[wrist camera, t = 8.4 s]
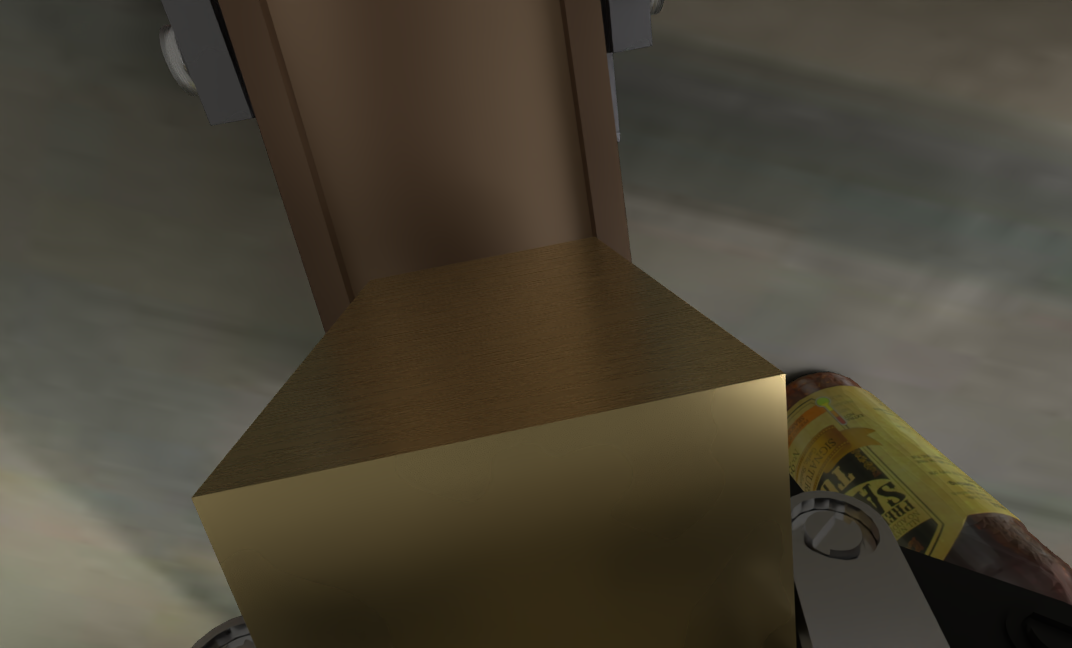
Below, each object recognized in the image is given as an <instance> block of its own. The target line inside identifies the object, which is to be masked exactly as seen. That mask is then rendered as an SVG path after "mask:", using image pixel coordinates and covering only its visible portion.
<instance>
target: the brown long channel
mask: <svg viewBox="0 0 1072 648" xmlns="http://www.w3.org/2000/svg"><path fill="white" fill-rule="evenodd" d="M218 2H219V5H220V8H221V11H222V14H223V17H224V20H225V23H226V26H227V30H228V33H229V36H230V39H231V42H232V45H233V48H234V51H235V54H236V57H237V61H238V64H239V67H240V70H241V73H242V76H243V79H244V82H245V85H246V88H247V92H248V95H249V98H250V101H251V104H252V107H253V110H254V113H255V116H256V119H257V123H258V126H259V129H260V132H261V135H262V138H263V141H264V144H265V147H266V150H267V153H268V157H269V160H270V163H271V166H272V169H273V172H274V175H275V178H276V181H277V184H278V188H279V191H280V194H281V197H282V200H283V203H284V206H285V209H286V212H287V215H288V219H289V222H290V225H291V228H292V231H293V234H294V237H295V240H296V243H297V246H298V249H299V253H300V256H301V259H302V262H303V265H304V268H305V271H306V274H307V277H308V280H309V284H310V287H311V290H312V293H313V296H314V299H315V302H316V305H317V308H318V311H319V315H320V318H321V321H322V324H323V327H324V330H325V333H327V332H328V330H329V329H330V328H331V327H332V326H333V324H334V323H335V322H336V321H337V319H338V318H339V317H340V316H341V315H342V313H343V312H344V311H345V310H346V308H347V307H348V306H349V305H350V304H351V302H352V301H353V300H354V299H355V297H356V296H357V295H358V294H359V293H360V291H361V290H362V289H363V288H364V286H365V285H366V284H367V283H368V282H369V280H374V279H379V278H384V277H389V276H395V275H400V274H405V273H410V272H415V271H420V270H425V269H431V268H436V267H441V266H446V265H451V264H456V263H461V262H467V261H472V260H477V259H482V258H487V257H492V256H497V255H503V254H508V253H513V252H518V251H523V250H528V249H533V248H539V247H544V246H549V245H554V244H559V243H564V242H569V241H575V240H580V239H585V238H590V237H596V238H598V239H599V240H600V241H602V242H603V243H605V244H606V245H607V246H609V247H610V248H612V249H613V250H614V251H616V252H617V253H618V254H620V255H621V256H623V257H624V258H625V259H627V260H628V261H630V262H631V263H632V261H631V253H630V244H629V236H628V227H627V219H626V211H625V202H624V194H623V186H622V177H621V169H620V161H619V152H618V144H617V136H616V127H615V119H614V111H613V102H612V94H611V86H610V77H609V69H608V61H607V52H606V44H605V36H604V27H603V19H602V10H601V2H600V0H218Z"/></svg>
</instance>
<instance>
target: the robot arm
mask: <svg viewBox="0 0 1072 648" xmlns="http://www.w3.org/2000/svg"><path fill="white" fill-rule="evenodd" d="M789 477H790V502H791V526H792V551H793V575H794V599H795V624H796V648H1072V605H1070V604H1068V603H1066V602H1063V601H1060V600H1057V599H1054V598H1052V597H1049V596H1046V595H1043V594H1040V593H1037V592H1034V591H1031V590H1028V589H1025V588H1022V587H1019V586H1016V585H1013V584H1011V583H1008V582H1005V581H1002V580H999V579H996V578H993V577H990V576H987V575H984V574H981V573H978V572H975V571H972V570H969V569H967V568H964V567H961V566H958V565H955V564H952V563H949V562H946V561H943V560H940V559H937V558H934V557H931V556H928V555H926V554H923V553H920V552H917V551H914V550H911V549H908V548H905V547H902V546H899V545H898V543H897V541H896V539H895V537H894V535H893V533H892V531H891V529H890V527H889V526H888V524H887V523H886V521H885V520H884V519H883V517H882V516H881V515H880V514H879V513H878V512H876V511H875V510H874V509H873V508H871V507H870V506H869V505H868V504H866V503H864V502H862V501H860V500H858V499H856V498H854V497H852V496H848V495H845V494H841V493H838V492H832V491H822V490H816V491H808V492H804V491H803V490H802V489H801V487H800V486H799V485H798V484H797V482H796V481H795V480H794V479H793V477H792V476H791V475H790V474H789ZM192 648H256V647H255V644H254V642H253V640H252V637H251V635H250V633H249V630H248V628H247V626H246V623H245V621H244V619H243V616H239V617H236V618H233V619H230V620H228V621H226V622H224V623H222V624H221V625H219V626H217V627H215V628H213V629H212V630H211V631H210V632H208V633H207V634H206V635H205V636H203V637H202V638H201V639H199V640H198V641H197V642H196V643H195V644H194V645H193V647H192Z"/></svg>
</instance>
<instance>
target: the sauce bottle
mask: <svg viewBox="0 0 1072 648" xmlns="http://www.w3.org/2000/svg"><path fill="white" fill-rule="evenodd" d="M786 404H787V428H788V453H789V474H790V475H791V476H792V477H793V479H794V480H795V481H796V482H797V484H798V485H799V486H800V487H801V489H802V490H803V491H804V492H808V491H816V490H822V491H832V492H838V493H841V494H845V495H848V496H852V497H854V498H856V499H858V500H860V501H862V502H864V503H866V504H868V505H869V506H870V507H871V508H873V509H874V510H875V511H876V512H878V513H879V514H880V515H881V516H882V517H883V519H884V520H885V521H886V523H887V524H888V526H889V527H890V529H891V531H892V533H893V535H894V537H895V539H896V541H897V543H898V545H899V546H902V547H905V548H908V549H911V550H914V551H917V552H920V553H923V554H926V555H928V556H931V557H934V558H937V559H940V560H943V561H946V562H949V563H952V564H955V565H958V566H961V567H964V568H967V569H969V570H972V571H975V572H978V573H981V574H984V575H987V576H990V577H993V578H996V579H999V580H1002V581H1005V582H1008V583H1011V584H1013V585H1016V586H1019V587H1022V588H1025V589H1028V590H1031V591H1034V592H1037V593H1040V594H1043V595H1046V596H1049V597H1052V598H1054V599H1057V600H1060V601H1063V602H1066V603H1068V604H1070V605H1072V569H1071V568H1070V566H1069V565H1068V564H1067V563H1065V562H1064V561H1063V560H1062V559H1060V558H1059V557H1058V556H1056V555H1055V554H1054V553H1053V552H1052V551H1050V550H1049V549H1048V548H1047V547H1046V546H1044V545H1043V544H1042V543H1041V542H1040V541H1039V540H1038V539H1037V538H1036V537H1034V536H1033V535H1032V534H1031V533H1030V532H1029V531H1028V530H1027V528H1026V527H1025V525H1024V524H1023V523H1022V522H1021V521H1020V520H1019V519H1018V518H1017V517H1015V516H1014V515H1013V514H1012V513H1011V512H1009V511H1008V510H1007V509H1006V508H1005V507H1004V506H1002V505H1001V504H1000V503H999V502H998V501H997V500H996V499H994V498H993V497H992V496H991V495H990V494H989V493H987V492H986V491H985V490H984V489H983V488H982V487H980V486H979V485H978V484H977V483H976V482H974V481H973V480H972V479H971V478H970V477H969V476H967V475H966V474H965V473H964V472H963V471H961V470H960V469H959V468H958V467H957V466H956V465H955V464H953V463H952V462H951V461H950V460H949V459H948V458H946V457H945V456H944V455H943V454H942V453H941V452H939V451H938V450H937V449H936V448H935V447H933V446H932V445H931V444H930V443H929V442H928V441H927V440H925V439H924V438H923V437H922V436H921V435H920V434H918V433H917V432H916V431H915V430H914V429H913V428H912V427H910V426H909V425H908V424H907V423H906V422H905V421H904V420H902V419H901V418H900V417H899V416H898V415H897V414H895V413H894V412H893V411H892V410H891V409H889V408H888V407H887V406H886V405H885V404H884V403H882V402H881V401H880V400H879V399H878V398H876V397H875V396H874V395H873V394H871V393H870V392H868V391H866V390H864V389H862V388H861V387H860V386H859V385H858V384H857V383H856V382H854V381H853V380H852V379H850V378H847V377H844V376H842V375H840V374H835V373H831V372H825V373H822V372H819V373H814V374H809V375H805V376H802V377H800V378H798V379H796V380H795V381H792V382H791V383H790V384H788V385H787V386H786Z"/></svg>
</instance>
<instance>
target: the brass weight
mask: <svg viewBox="0 0 1072 648" xmlns="http://www.w3.org/2000/svg"><path fill="white" fill-rule="evenodd" d="M192 500H193V503H194V505H195V507H196V510H197V512H198V514H199V517H200V519H201V521H202V524H203V526H204V528H205V531H206V533H207V535H208V537H209V540H210V542H211V544H212V547H213V549H214V551H215V554H216V556H217V558H218V561H219V563H220V565H221V568H222V570H223V572H224V575H225V577H226V579H227V582H228V584H229V586H230V589H231V591H232V593H233V595H234V598H235V600H236V602H237V605H238V607H239V609H240V612H241V614H242V616H243V619H244V621H245V623H246V626H247V628H248V630H249V633H250V635H251V637H252V640H253V642H254V644H255V647H256V648H796V624H795V599H794V575H793V551H792V526H791V502H790V477H789V453H788V428H787V404H786V379H785V373H783V372H782V371H781V370H779V369H778V368H776V367H775V366H774V365H772V364H771V363H769V362H768V361H767V360H765V359H764V358H763V357H761V356H760V355H758V354H757V353H756V352H754V351H753V350H751V349H750V348H749V347H747V346H746V345H745V344H743V343H742V342H740V341H739V340H738V339H736V338H735V337H733V336H732V335H731V334H729V333H728V332H726V331H725V330H724V329H722V328H721V327H720V326H718V325H717V324H715V323H714V322H713V321H711V320H710V319H708V318H707V317H706V316H704V315H703V314H702V313H700V312H699V311H697V310H696V309H695V308H693V307H692V306H690V305H689V304H688V303H686V302H685V301H684V300H682V299H681V298H679V297H678V296H677V295H675V294H674V293H672V292H671V291H670V290H668V289H667V288H666V287H664V286H663V285H661V284H660V283H659V282H657V281H656V280H654V279H653V278H652V277H650V276H649V275H648V274H646V273H645V272H643V271H642V270H641V269H639V268H638V267H636V266H635V265H634V264H632V263H631V262H630V261H628V260H627V259H625V258H624V257H623V256H621V255H620V254H618V253H617V252H616V251H614V250H613V249H612V248H610V247H609V246H607V245H606V244H605V243H603V242H602V241H600V240H599V239H598V238H596V237H590V238H585V239H580V240H575V241H569V242H564V243H559V244H554V245H549V246H544V247H539V248H533V249H528V250H523V251H518V252H513V253H508V254H503V255H497V256H492V257H487V258H482V259H477V260H472V261H467V262H461V263H456V264H451V265H446V266H441V267H436V268H431V269H425V270H420V271H415V272H410V273H405V274H400V275H395V276H389V277H384V278H379V279H374V280H369V282H368V283H367V284H366V285H365V286H364V288H363V289H362V290H361V291H360V293H359V294H358V295H357V296H356V297H355V299H354V300H353V301H352V302H351V304H350V305H349V306H348V307H347V308H346V310H345V311H344V312H343V313H342V315H341V316H340V317H339V318H338V319H337V321H336V322H335V323H334V324H333V326H332V327H331V328H330V329H329V330H328V332H327V333H326V334H325V335H324V337H323V338H322V339H321V340H320V341H319V343H318V344H317V345H316V346H315V348H314V349H313V350H312V351H311V352H310V354H309V355H308V356H307V357H306V359H305V360H304V361H303V362H302V363H301V365H300V366H299V367H298V368H297V370H296V371H295V372H294V373H293V374H292V376H291V377H290V378H289V379H288V381H287V382H286V383H285V384H284V385H283V387H282V388H281V389H280V390H279V392H278V393H277V394H276V395H275V396H274V398H273V399H272V400H271V401H270V402H269V404H268V405H267V406H266V407H265V409H264V410H263V411H262V412H261V413H260V415H259V416H258V417H257V418H256V420H255V421H254V422H253V423H252V424H251V426H250V427H249V428H248V429H247V431H246V432H245V433H244V434H243V435H242V437H241V438H240V439H239V440H238V442H237V443H236V444H235V445H234V446H233V448H232V449H231V450H230V451H229V453H228V454H227V455H226V456H225V457H224V459H223V460H222V461H221V462H220V464H219V465H218V466H217V467H216V468H215V470H214V471H213V472H212V473H211V475H210V476H209V477H208V478H207V479H206V481H205V482H204V483H203V484H202V486H201V487H200V488H199V489H198V490H197V492H196V493H195V494H194V495H193V497H192Z"/></svg>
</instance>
